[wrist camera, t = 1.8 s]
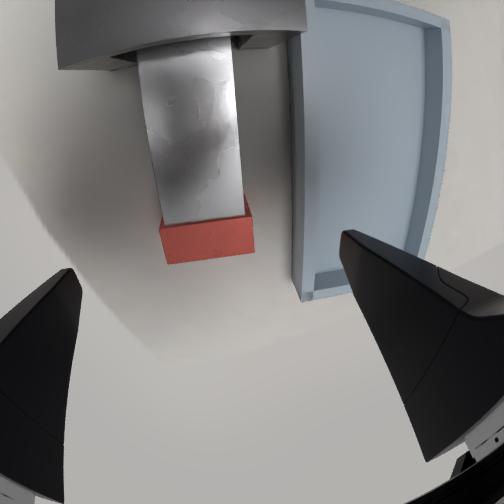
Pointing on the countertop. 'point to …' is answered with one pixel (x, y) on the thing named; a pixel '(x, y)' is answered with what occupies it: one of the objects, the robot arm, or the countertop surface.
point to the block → (165, 27)
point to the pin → (195, 148)
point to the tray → (365, 132)
